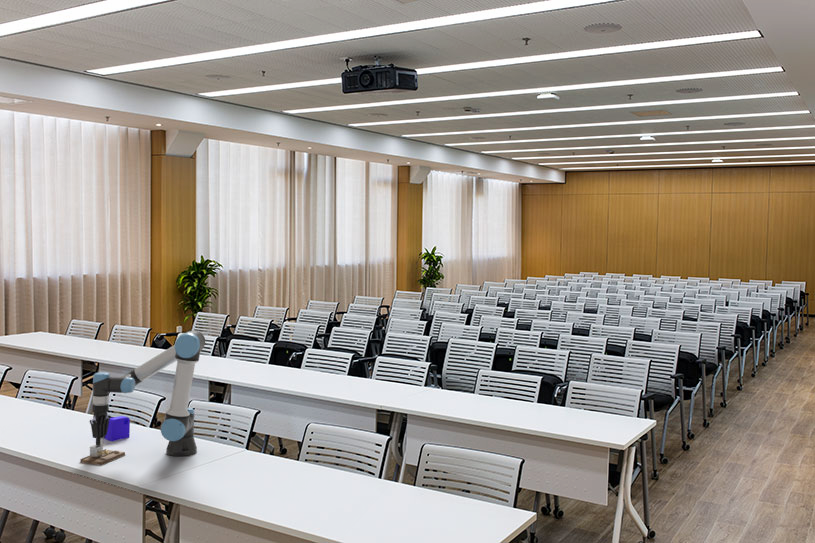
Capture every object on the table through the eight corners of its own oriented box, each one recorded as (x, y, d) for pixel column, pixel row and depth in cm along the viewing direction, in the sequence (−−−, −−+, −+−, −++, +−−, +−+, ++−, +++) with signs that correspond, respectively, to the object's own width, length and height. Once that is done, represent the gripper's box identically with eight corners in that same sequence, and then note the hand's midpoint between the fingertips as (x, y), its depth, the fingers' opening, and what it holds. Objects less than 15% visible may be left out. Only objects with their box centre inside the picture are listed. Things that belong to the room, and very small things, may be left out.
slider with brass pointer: (111, 456, 356) (111, 446, 356) (105, 458, 352) (106, 448, 352) (95, 454, 358) (95, 444, 358) (89, 456, 354) (90, 446, 354)
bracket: (129, 437, 399) (129, 416, 398) (111, 441, 389) (112, 420, 389) (109, 432, 408) (110, 411, 408) (92, 435, 399) (92, 414, 399)
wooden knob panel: (125, 455, 365) (125, 450, 365) (101, 465, 348) (101, 459, 348) (104, 452, 368) (104, 447, 368) (80, 462, 351) (80, 457, 351)
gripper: (103, 400, 365) (101, 446, 366) (85, 405, 352) (83, 453, 353) (115, 401, 363) (114, 448, 364) (98, 407, 350) (96, 455, 351)
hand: (99, 450), depth 358 cm, fingers closed
